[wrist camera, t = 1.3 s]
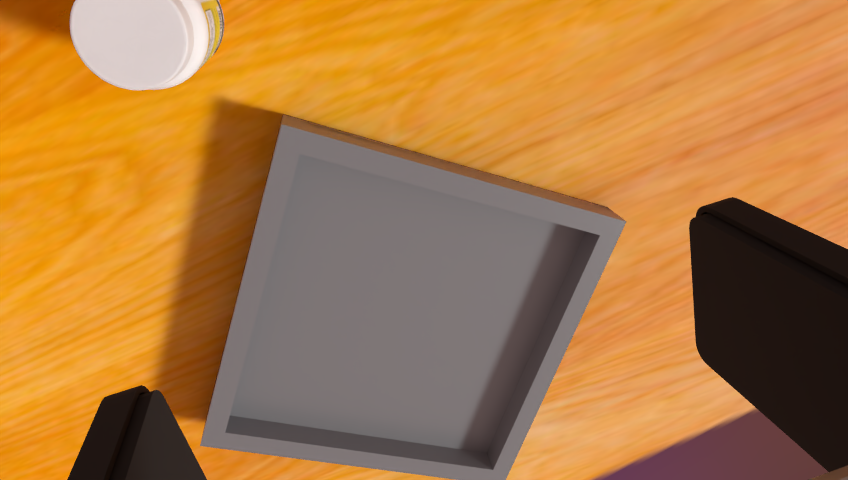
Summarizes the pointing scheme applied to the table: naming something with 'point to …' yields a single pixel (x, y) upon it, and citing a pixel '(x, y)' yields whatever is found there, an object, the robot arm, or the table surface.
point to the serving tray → (400, 309)
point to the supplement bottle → (146, 39)
